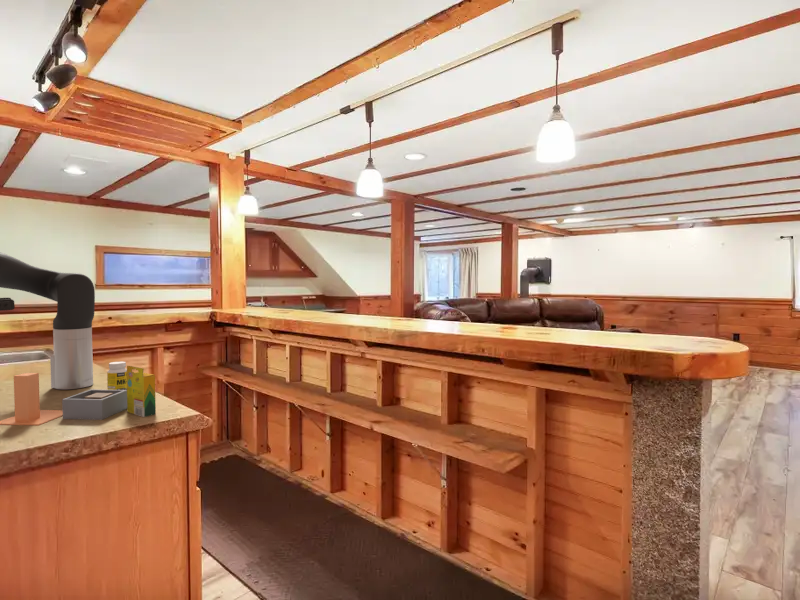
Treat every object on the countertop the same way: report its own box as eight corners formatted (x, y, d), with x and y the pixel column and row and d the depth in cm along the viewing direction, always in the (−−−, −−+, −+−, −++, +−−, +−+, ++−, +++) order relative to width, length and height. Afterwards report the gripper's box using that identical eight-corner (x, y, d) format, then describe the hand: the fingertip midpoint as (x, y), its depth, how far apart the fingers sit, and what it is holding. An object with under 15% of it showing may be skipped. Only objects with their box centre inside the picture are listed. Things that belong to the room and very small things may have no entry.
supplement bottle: (117, 395, 124) (117, 364, 123) (103, 394, 124) (102, 363, 124) (131, 391, 128) (131, 361, 128) (117, 389, 129) (117, 360, 129)
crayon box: (156, 416, 105) (155, 366, 105) (143, 419, 103) (142, 368, 102) (139, 411, 109) (138, 363, 109) (126, 414, 107) (125, 365, 106)
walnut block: (85, 414, 104) (84, 397, 104) (97, 409, 108) (96, 392, 108) (102, 414, 104) (101, 397, 104) (113, 409, 108) (113, 393, 108)
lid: (-7, 428, 97) (-9, 377, 96) (32, 413, 107) (31, 367, 106) (38, 428, 96) (37, 377, 96) (74, 414, 106) (72, 368, 106)
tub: (62, 421, 101) (62, 399, 101) (91, 409, 110) (91, 389, 110) (102, 422, 100) (101, 399, 100) (127, 410, 109) (127, 390, 109)
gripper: (-104, 289, 81) (14, 286, 92) (-97, 287, 91) (9, 285, 103) (-101, 331, 82) (16, 323, 93) (-93, 324, 92) (11, 318, 103)
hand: (12, 303), depth 98 cm, fingers open, 8 cm apart
